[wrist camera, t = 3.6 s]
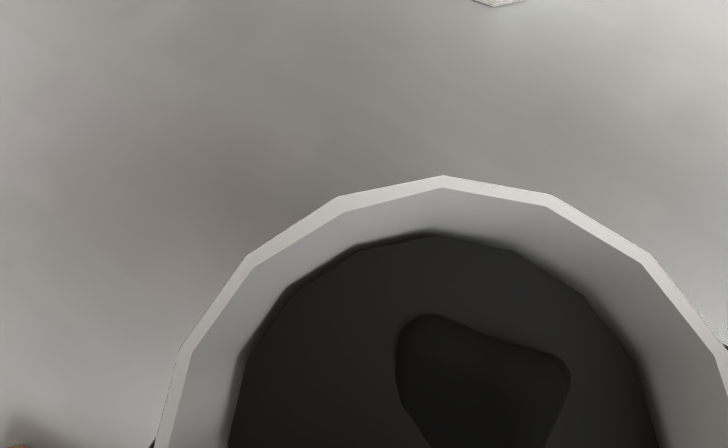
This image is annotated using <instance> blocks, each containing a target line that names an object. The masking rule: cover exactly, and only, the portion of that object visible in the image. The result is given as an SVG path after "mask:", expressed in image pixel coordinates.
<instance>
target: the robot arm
mask: <svg viewBox="0 0 728 448" xmlns="http://www.w3.org/2000/svg"><path fill="white" fill-rule="evenodd" d="M722 344H723V343H722ZM723 345H724V344H723ZM724 347H725V348H726V349H727V350H728V346H726V345H724ZM155 440H156V438H155V439H154V441H153V442H152V444H151V445H150V446H149V448H154V444H155Z"/></svg>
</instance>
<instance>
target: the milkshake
mask: <svg viewBox="0 0 728 448" xmlns="http://www.w3.org/2000/svg"><path fill="white" fill-rule="evenodd" d="M476 1H479V2H481V3H484V4H487V5H490V6H493V7H496V6H500V5H504V4H508V3H513V2H517V1H522V0H476Z"/></svg>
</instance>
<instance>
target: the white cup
mask: <svg viewBox="0 0 728 448" xmlns="http://www.w3.org/2000/svg"><path fill="white" fill-rule="evenodd" d="M154 448H728V350H727V349H726V348H725V347H724V345H723V344H722V343H721V342H720V340H719V339H718V338H717V337H716V335H715V334H714V333H713V332H712V330H711V329H710V328H709V327H708V325H707V324H706V323H705V321H704V320H703V319H702V318H701V316H700V315H699V314H698V313H697V311H696V310H695V309H694V308H693V306H692V305H691V304H690V303H689V301H688V300H687V299H686V298H685V296H684V295H683V294H682V293H681V291H680V290H679V289H678V288H677V286H676V285H675V284H674V282H673V281H672V280H671V279H670V277H669V276H668V275H667V274H666V272H665V271H664V270H663V269H662V267H661V266H660V265H659V264H658V262H657V261H656V260H655V259H654V257H653V256H652V255H651V254H650V253H648V252H646V251H645V250H643V249H641V248H640V247H638V246H636V245H635V244H633V243H631V242H630V241H628V240H626V239H625V238H623V237H621V236H620V235H618V234H616V233H615V232H613V231H611V230H610V229H608V228H606V227H605V226H603V225H601V224H600V223H598V222H596V221H595V220H593V219H591V218H590V217H588V216H586V215H585V214H583V213H582V212H580V211H578V210H577V209H575V208H573V207H572V206H570V205H568V204H567V203H565V202H563V201H562V200H560V199H558V198H557V197H555V196H553V195H552V194H546V193H540V192H535V191H529V190H524V189H518V188H513V187H507V186H501V185H496V184H490V183H485V182H479V181H473V180H468V179H462V178H457V177H451V176H445V175H441V176H436V177H431V178H426V179H421V180H416V181H411V182H406V183H401V184H396V185H391V186H386V187H381V188H376V189H371V190H366V191H361V192H356V193H351V194H346V195H341V196H337V197H335V198H334V199H332V200H331V201H329V202H328V203H326V204H325V205H323V206H321V207H320V208H318V209H317V210H315V211H314V212H312V213H311V214H309V215H308V216H306V217H305V218H303V219H301V220H300V221H298V222H297V223H295V224H294V225H292V226H291V227H289V228H288V229H286V230H285V231H283V232H282V233H280V234H278V235H277V236H275V237H274V238H272V239H271V240H269V241H268V242H266V243H265V244H263V245H262V246H260V247H258V248H257V249H255V250H254V251H252V252H251V253H249V254H248V255H246V256H245V258H244V259H243V260H242V262H241V263H240V265H239V266H238V267H237V269H236V270H235V272H234V273H233V274H232V276H231V277H230V279H229V280H228V281H227V283H226V284H225V286H224V287H223V288H222V290H221V291H220V293H219V294H218V295H217V297H216V298H215V300H214V301H213V302H212V304H211V305H210V307H209V308H208V309H207V311H206V312H205V314H204V315H203V316H202V318H201V319H200V321H199V322H198V323H197V325H196V326H195V328H194V329H193V330H192V332H191V333H190V335H189V336H188V337H187V339H186V340H185V342H184V343H183V344H182V346H181V347H180V349H179V353H178V356H177V360H176V364H175V368H174V372H173V376H172V379H171V383H170V387H169V391H168V395H167V398H166V402H165V406H164V410H163V414H162V417H161V421H160V425H159V429H158V433H157V436H156V440H155V444H154Z"/></svg>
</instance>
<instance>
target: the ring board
mask: <svg viewBox="0 0 728 448" xmlns="http://www.w3.org/2000/svg"><path fill="white" fill-rule="evenodd" d="M8 448H28V447H26V446H24V445H22V444H19V445H15V446H12V447H8Z"/></svg>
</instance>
